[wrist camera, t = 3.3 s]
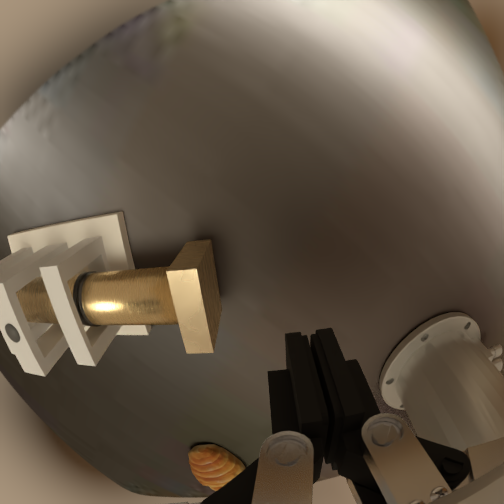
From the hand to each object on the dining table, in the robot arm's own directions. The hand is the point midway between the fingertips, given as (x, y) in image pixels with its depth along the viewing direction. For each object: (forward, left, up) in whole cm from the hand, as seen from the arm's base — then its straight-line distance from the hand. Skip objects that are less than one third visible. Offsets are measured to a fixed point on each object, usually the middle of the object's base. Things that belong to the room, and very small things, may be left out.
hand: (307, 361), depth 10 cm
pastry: (+10, +28, -12) cm, 32 cm away
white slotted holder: (+18, 0, -11) cm, 21 cm away
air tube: (+12, 0, -10) cm, 16 cm away
